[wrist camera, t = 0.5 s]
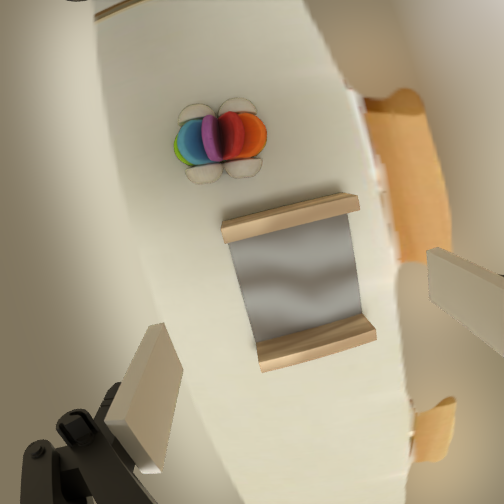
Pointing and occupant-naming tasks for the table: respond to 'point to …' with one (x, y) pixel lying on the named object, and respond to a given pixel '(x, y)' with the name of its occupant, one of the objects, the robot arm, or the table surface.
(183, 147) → the rainbow petal toy
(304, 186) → the table surface
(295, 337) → the bay
